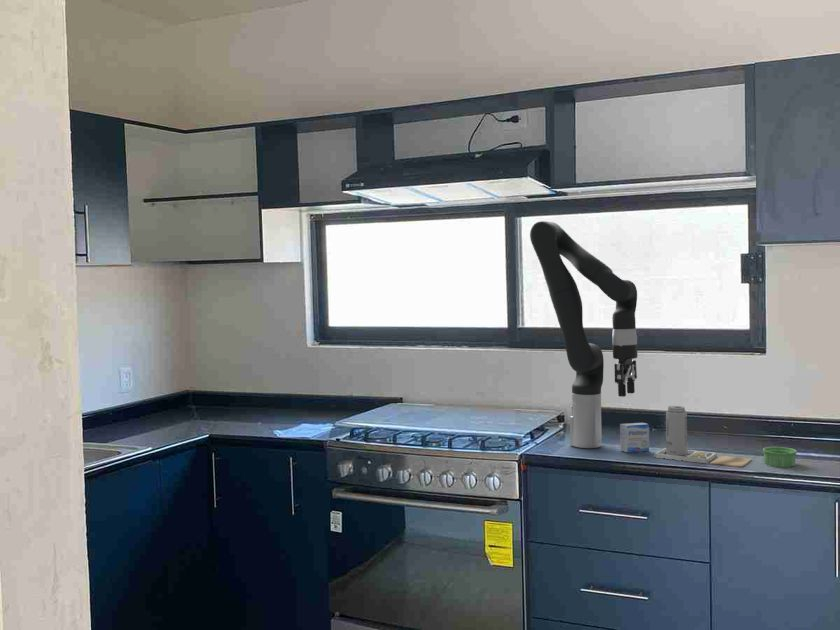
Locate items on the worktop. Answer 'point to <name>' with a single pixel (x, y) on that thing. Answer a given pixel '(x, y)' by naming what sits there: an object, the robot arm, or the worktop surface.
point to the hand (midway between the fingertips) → (626, 394)
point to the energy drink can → (676, 431)
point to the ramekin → (779, 456)
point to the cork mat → (731, 461)
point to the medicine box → (634, 437)
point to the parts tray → (694, 457)
